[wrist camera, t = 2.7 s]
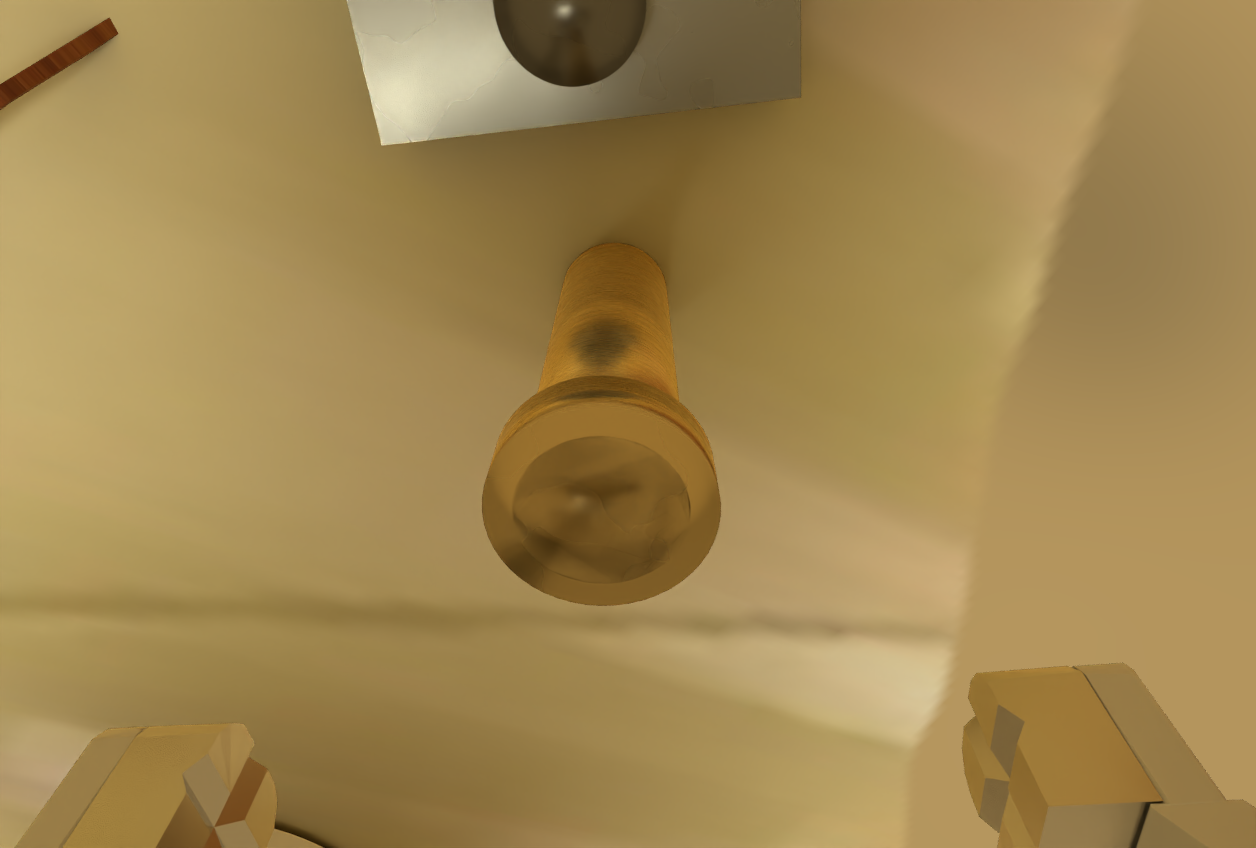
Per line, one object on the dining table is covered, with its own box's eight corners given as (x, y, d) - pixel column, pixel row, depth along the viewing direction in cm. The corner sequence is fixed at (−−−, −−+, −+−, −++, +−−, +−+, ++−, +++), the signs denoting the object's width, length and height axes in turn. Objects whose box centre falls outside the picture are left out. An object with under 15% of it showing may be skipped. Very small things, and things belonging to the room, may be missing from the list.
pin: (689, 351, 24) (726, 596, 14) (556, 364, 24) (505, 614, 15) (678, 217, 22) (713, 396, 12) (534, 232, 22) (459, 420, 13)
